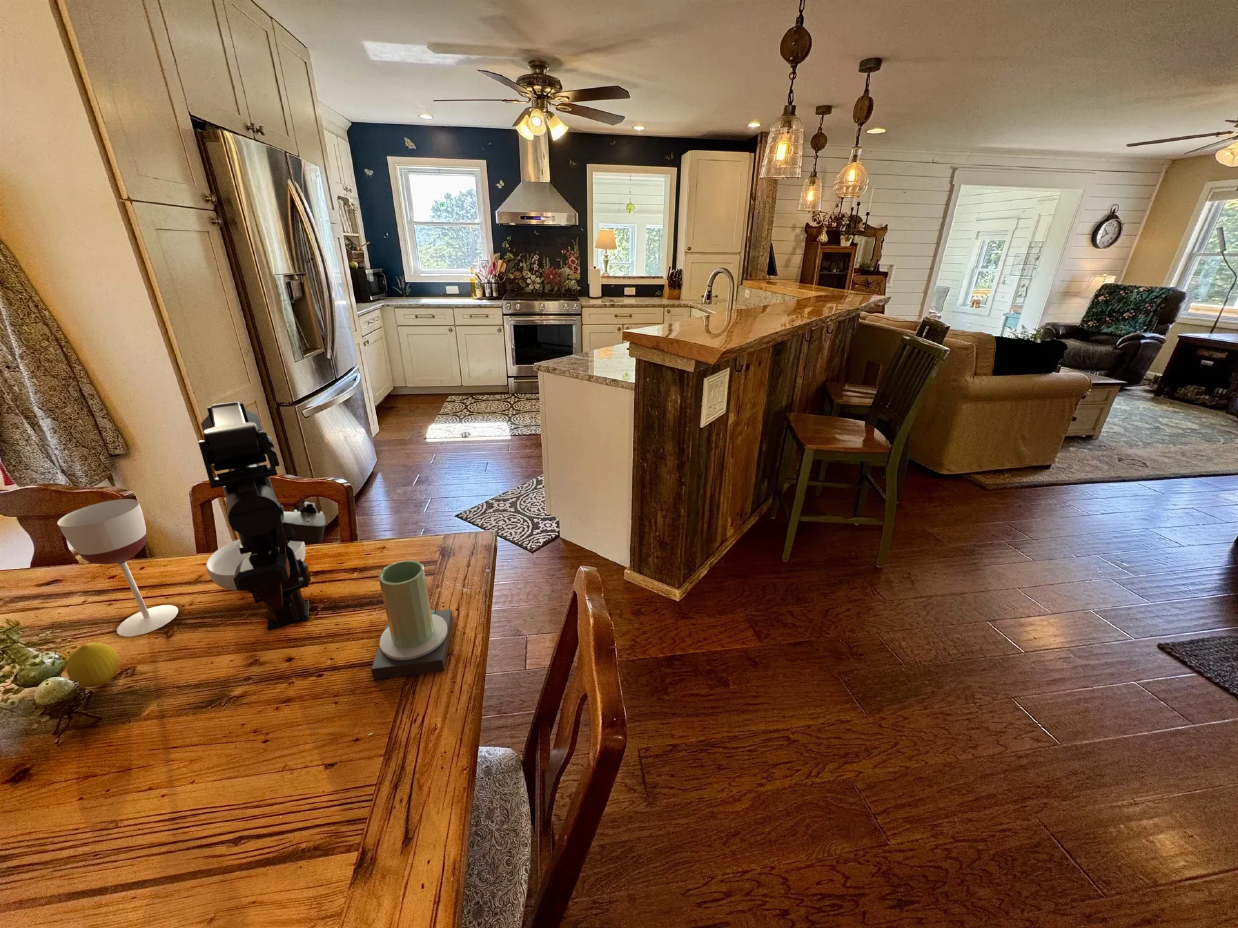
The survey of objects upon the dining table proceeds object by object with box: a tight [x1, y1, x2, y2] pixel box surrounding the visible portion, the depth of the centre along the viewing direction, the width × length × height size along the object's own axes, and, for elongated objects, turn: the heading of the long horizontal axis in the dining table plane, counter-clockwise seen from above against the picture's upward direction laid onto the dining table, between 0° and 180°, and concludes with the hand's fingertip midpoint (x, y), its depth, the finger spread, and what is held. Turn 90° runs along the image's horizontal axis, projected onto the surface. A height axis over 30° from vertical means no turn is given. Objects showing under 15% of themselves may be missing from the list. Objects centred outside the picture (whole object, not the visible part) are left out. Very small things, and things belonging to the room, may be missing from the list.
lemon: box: [65, 642, 121, 688], centre depth 77 cm, size 6×6×8 cm
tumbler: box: [378, 559, 434, 648], centre depth 83 cm, size 7×7×13 cm
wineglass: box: [57, 498, 179, 637], centre depth 88 cm, size 9×10×23 cm
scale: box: [370, 608, 454, 681], centre depth 86 cm, size 13×11×3 cm
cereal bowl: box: [205, 538, 307, 592], centre depth 103 cm, size 17×17×7 cm
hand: (280, 591), depth 80 cm, fingers open, 9 cm apart
